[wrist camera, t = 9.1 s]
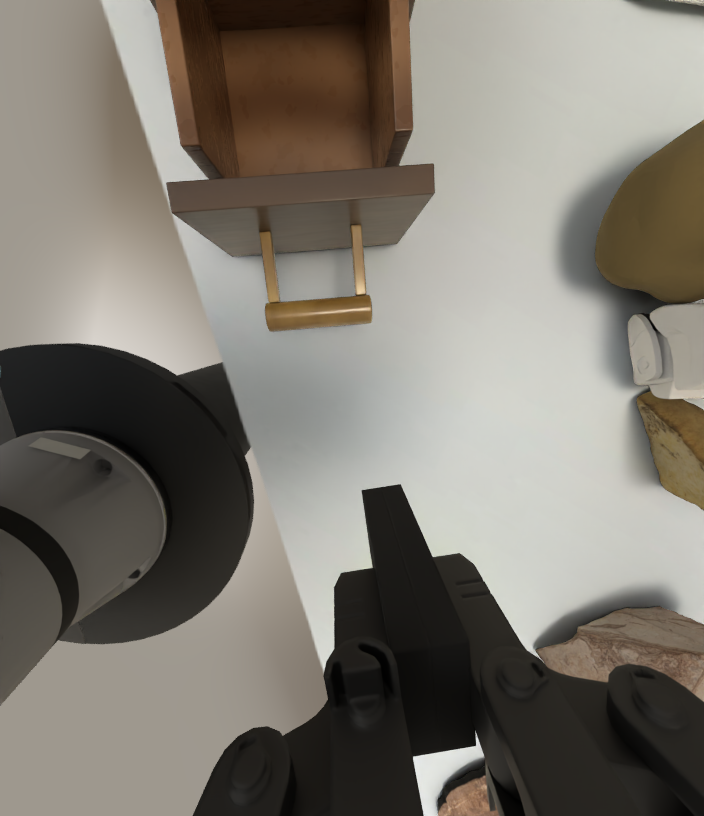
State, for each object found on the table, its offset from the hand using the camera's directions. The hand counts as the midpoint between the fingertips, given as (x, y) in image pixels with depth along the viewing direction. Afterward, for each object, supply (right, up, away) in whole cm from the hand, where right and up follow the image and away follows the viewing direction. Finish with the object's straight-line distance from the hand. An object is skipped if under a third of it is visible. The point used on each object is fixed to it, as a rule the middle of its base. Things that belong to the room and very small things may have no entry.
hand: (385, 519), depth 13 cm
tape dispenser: (+24, +8, +15) cm, 29 cm away
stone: (+25, -18, +21) cm, 37 cm away
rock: (+27, +2, +17) cm, 31 cm away
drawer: (-4, +19, +10) cm, 22 cm away
